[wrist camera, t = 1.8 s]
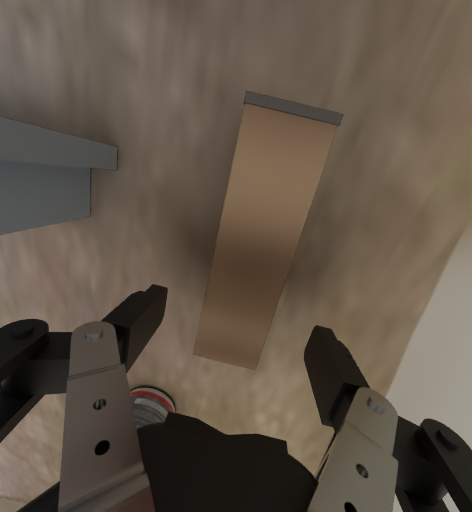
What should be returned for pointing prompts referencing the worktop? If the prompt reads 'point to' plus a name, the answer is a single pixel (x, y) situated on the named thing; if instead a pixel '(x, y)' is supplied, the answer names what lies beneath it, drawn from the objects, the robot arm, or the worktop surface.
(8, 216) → the grey two-legged bench
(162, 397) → the pill bottle
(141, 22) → the worktop surface
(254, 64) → the worktop surface
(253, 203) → the bed rail
